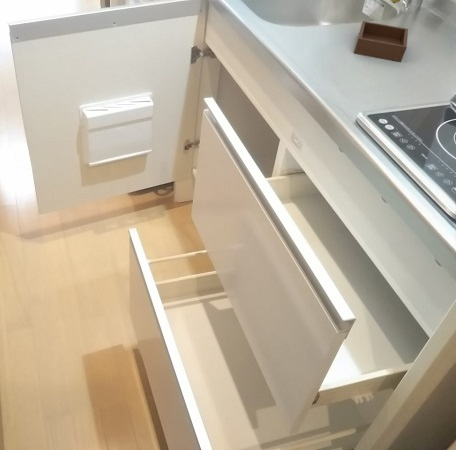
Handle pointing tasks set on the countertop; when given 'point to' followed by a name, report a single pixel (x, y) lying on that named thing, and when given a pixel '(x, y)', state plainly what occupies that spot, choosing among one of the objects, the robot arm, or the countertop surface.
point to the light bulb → (395, 1)
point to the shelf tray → (381, 41)
